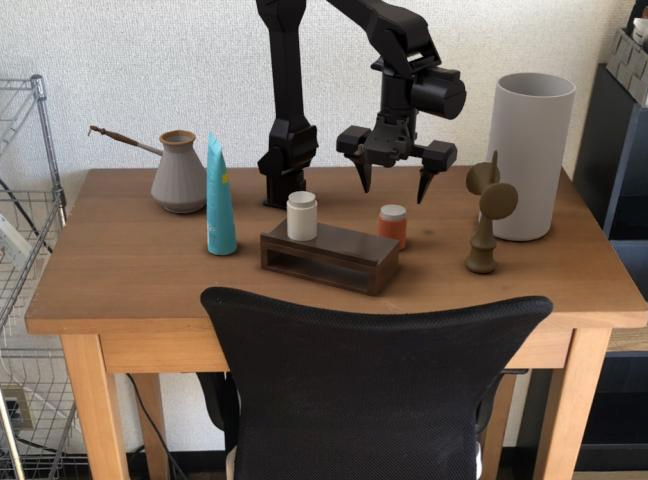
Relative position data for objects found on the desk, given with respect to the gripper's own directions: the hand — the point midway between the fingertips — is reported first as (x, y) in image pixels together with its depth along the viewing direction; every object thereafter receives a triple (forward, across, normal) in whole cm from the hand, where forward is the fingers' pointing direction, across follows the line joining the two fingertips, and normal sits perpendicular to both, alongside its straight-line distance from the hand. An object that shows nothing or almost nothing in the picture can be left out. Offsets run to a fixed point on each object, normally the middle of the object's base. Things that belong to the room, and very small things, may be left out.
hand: (392, 197), depth 139 cm
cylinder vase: (+9, +17, +16) cm, 25 cm away
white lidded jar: (+4, -11, -12) cm, 16 cm away
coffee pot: (+9, -45, -4) cm, 46 cm away
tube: (+9, -25, -14) cm, 30 cm away
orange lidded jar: (+9, 0, 0) cm, 9 cm away
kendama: (+9, +16, -1) cm, 18 cm away
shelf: (+9, -6, -12) cm, 16 cm away
